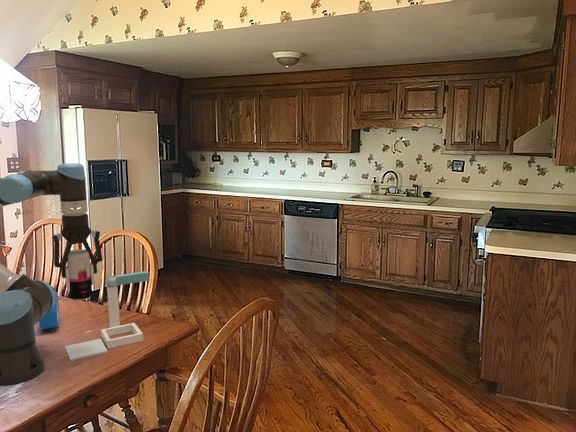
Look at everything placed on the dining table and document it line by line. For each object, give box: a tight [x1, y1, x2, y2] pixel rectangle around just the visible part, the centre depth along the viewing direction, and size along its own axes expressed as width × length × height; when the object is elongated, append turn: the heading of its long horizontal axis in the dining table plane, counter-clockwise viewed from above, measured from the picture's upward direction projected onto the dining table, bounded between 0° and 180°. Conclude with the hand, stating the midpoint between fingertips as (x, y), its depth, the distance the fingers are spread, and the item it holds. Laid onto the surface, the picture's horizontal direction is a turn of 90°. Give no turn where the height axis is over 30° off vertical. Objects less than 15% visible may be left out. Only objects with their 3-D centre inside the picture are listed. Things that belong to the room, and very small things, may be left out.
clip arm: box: [105, 270, 150, 288], centre depth 175 cm, size 4×15×3 cm, turn 120°
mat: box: [65, 338, 108, 362], centre depth 157 cm, size 11×11×1 cm
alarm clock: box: [38, 285, 60, 331], centre depth 175 cm, size 13×6×15 cm, turn 23°
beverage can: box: [66, 248, 93, 302], centre depth 153 cm, size 7×6×15 cm
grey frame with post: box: [100, 285, 144, 350], centre depth 168 cm, size 11×18×16 cm, turn 31°
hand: (80, 285), depth 154 cm, fingers closed on beverage can, 6 cm apart
